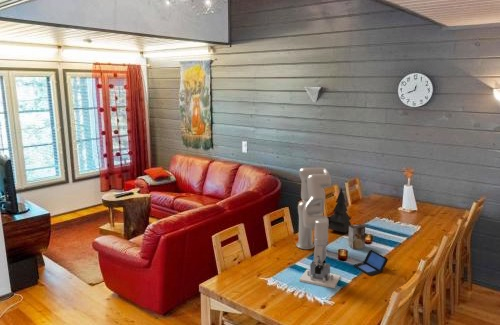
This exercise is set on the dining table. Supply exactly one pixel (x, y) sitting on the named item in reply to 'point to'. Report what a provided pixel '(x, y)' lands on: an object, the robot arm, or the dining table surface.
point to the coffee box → (356, 236)
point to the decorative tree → (340, 215)
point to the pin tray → (330, 283)
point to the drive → (324, 271)
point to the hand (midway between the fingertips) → (320, 270)
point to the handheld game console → (372, 263)
